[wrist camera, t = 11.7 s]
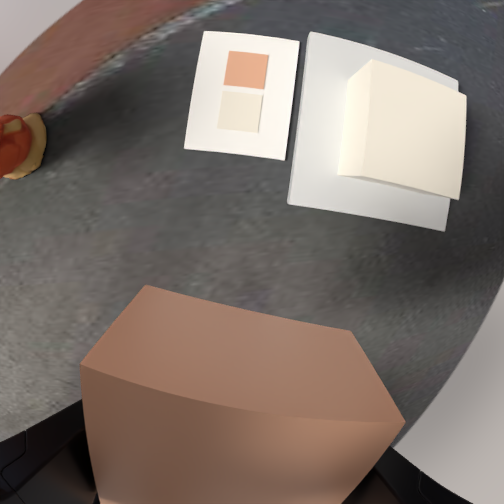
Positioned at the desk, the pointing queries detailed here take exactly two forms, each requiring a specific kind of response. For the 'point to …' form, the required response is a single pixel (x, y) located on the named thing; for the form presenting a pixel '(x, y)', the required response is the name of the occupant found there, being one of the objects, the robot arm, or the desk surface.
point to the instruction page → (242, 95)
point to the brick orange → (229, 407)
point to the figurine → (21, 144)
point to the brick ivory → (403, 131)
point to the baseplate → (330, 138)
